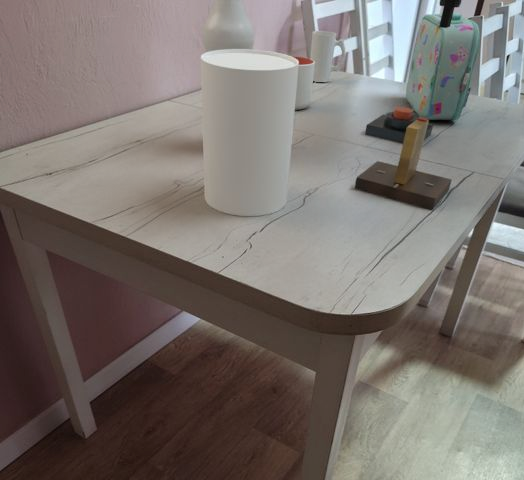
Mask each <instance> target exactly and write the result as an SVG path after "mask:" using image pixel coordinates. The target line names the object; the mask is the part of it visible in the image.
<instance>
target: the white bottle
mask: <svg viewBox="0 0 524 480" xmlns="http://www.w3.org/2000/svg"><path fill="white" fill-rule="evenodd" d="M202 43H203V47H204V50H205V52H204V53H206V52H210V51H215V50H224V49H252V50H253V47H254V43H255V29H254V26H253V24H252V22H251V20H250V18H249V17H248V14H247V13H246V10H245V4H244V0H213V4H212V7H211V11H210V13H209V15H208V16H207V18H206V20H205V21H204V23H203V26H202Z"/></svg>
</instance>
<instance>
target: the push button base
mask: <svg viewBox="0 0 524 480" xmlns="http://www.w3.org/2000/svg"><path fill="white" fill-rule="evenodd" d="M393 113H394V111H389V112H387V113H385V114H381V115H380V116H378V117H377V118H375V119H374V120H372V121H370V122H369V123H367V124H366V127H365V132H364V136H368V137H373V138H378V139H381V140H385V141H391V142H395V143H399V144H402V145H403V142H404V138H405V133H406V129H407V127H408V126H409V125H410V124H412V123H413V122H414V121H416V120H417V119H418V118H419V116H418V115H416V114H414V113H412V118H411V119H408V120H406V119H398V118H395V117H393ZM433 128H434V125H433V124H429V123H428V126H427V130H426V134H425V138H424V141H426V140H427V139H428V138H429V137H430V136H432V132H433Z"/></svg>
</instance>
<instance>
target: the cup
mask: <svg viewBox="0 0 524 480" xmlns="http://www.w3.org/2000/svg"><path fill="white" fill-rule="evenodd" d="M290 56H291V57H294V58H296V59H297V60H298V61H299V66H298V78H297V89H296V100H295V111H299V110H304V109H306V108H308V107H309V106H310V104H311V101H312V94H313V93H312V92H313V83H314V82H313V75H314V65H315V62H314V61H313V60H311V59H310V58H308V57H302V56H295V55H290Z"/></svg>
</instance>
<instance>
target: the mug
mask: <svg viewBox="0 0 524 480" xmlns="http://www.w3.org/2000/svg"><path fill="white" fill-rule="evenodd" d="M311 32H312V36H311V44H310V46H311V47H310V56H309V57H310V58H309V59H311V60H313V61H314V62H315V65H314V75H313V81H315V82H314V83H316V82H327V81H329V80H330V81H331V73H333V72H337V73H338V72H339V71H340V69H341V67H342V65H343V63H344V62H345V58H346V45H345V42H344V39H343V38H342V39H338V40H337V33H336V32H333V31H327V30H314V31H311ZM336 46H338V47H339V48H340V50H341V57H340V59H339V62H338V63H337V64H336V65H334V64H333V60H334V53H335V47H336ZM330 81H329V82H330ZM327 83H328V82H327Z"/></svg>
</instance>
